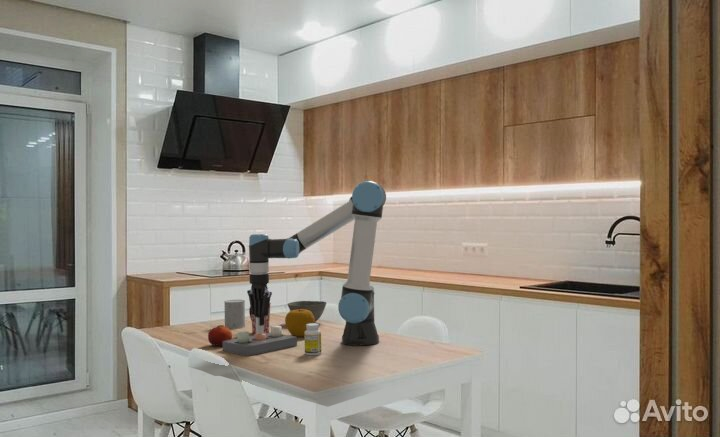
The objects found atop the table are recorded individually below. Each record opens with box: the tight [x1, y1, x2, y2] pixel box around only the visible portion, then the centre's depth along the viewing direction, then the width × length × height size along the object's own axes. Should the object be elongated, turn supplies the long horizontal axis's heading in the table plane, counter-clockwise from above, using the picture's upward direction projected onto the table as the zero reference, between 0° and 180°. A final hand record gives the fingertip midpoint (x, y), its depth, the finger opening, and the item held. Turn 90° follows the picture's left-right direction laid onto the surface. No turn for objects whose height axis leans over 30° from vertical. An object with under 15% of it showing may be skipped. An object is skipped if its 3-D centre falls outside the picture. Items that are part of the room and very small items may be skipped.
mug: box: [248, 302, 272, 335], centre depth 270 cm, size 13×9×14 cm
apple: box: [284, 309, 316, 338], centre depth 262 cm, size 13×13×11 cm
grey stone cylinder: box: [224, 299, 246, 330], centre depth 286 cm, size 10×10×12 cm
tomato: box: [207, 324, 233, 347], centre depth 244 cm, size 9×9×8 cm
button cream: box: [270, 325, 283, 338], centre depth 243 cm, size 4×4×4 cm
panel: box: [222, 331, 298, 357], centre depth 237 cm, size 16×24×4 cm, turn 137°
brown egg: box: [253, 333, 266, 341], centre depth 237 cm, size 4×4×4 cm
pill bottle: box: [303, 322, 322, 356], centre depth 225 cm, size 6×6×11 cm
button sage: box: [236, 331, 250, 344], centre depth 231 cm, size 4×4×4 cm
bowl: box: [286, 300, 327, 323], centre depth 293 cm, size 19×19×10 cm
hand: (259, 333), depth 237 cm, fingers closed
